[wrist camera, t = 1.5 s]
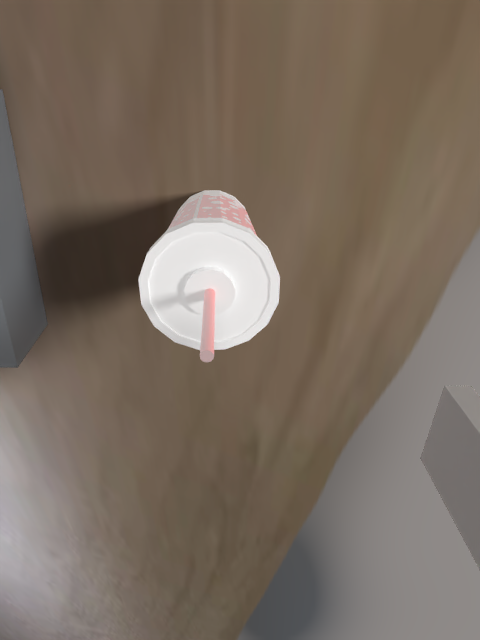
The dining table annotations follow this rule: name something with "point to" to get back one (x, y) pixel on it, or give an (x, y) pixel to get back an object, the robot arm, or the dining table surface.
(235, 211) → the beverage cup
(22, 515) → the dining table surface
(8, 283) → the box
